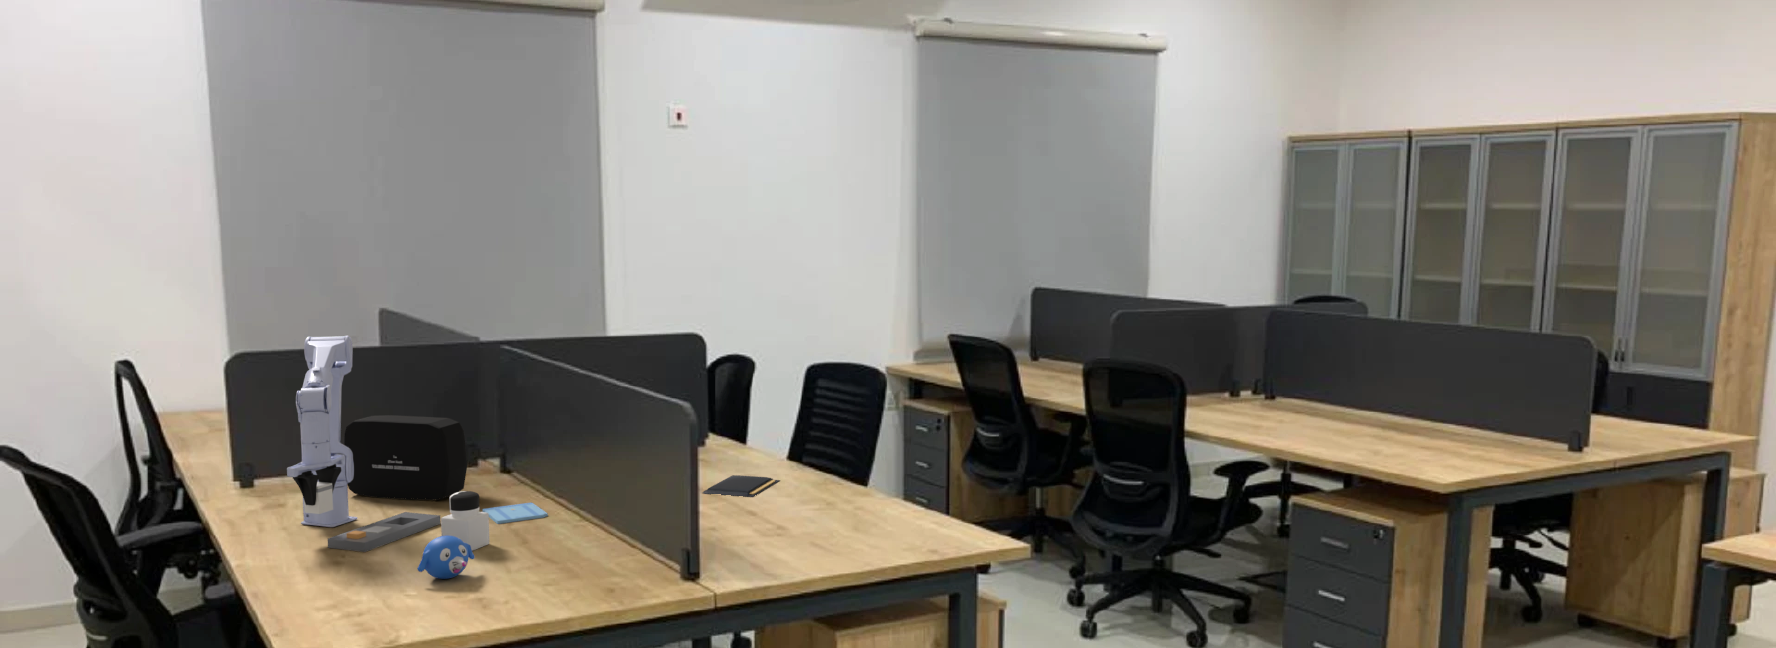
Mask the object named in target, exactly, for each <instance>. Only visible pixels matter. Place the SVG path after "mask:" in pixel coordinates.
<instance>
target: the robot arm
mask: <svg viewBox="0 0 1776 648" xmlns="http://www.w3.org/2000/svg"><path fill="white" fill-rule="evenodd" d="M303 347H304V348H303V349H304V350H303V351H304V358H305V359H304V360H305V361H306V365H307V368H308V370H307V371H306V373H305V374H304V375H305V376H304V379H303V384H302V387H301V388H300V390H297V391H296V395H295V406H296V412H297V419H298V423H299V424H300V425H299V426H300V444H301V461H300V462H298V463H297V464H294V465H292V466H288V467H287V468H286V474H287V475H286V476H287V477H289V478H292V479H293V481H295V483H296V485H297V487H298V489H300V490H299V491H300V493H301V495H302V511H303V513H302V514H303V521H301V522H300V524H301V525H308V526H318V527H319V526H320V527H327V528H334V527H338V526H341V525H343V524H347V523H350V522H352V521H355V520H358V517H357V516H350V515H349V511H350V510H349V494H348V493H349V492H348V491H349V490H348V489H349V487H348V482H351V481H352V480H353V477H354V462H353V453H352V451H351V449H350V448H348V447H347V446H345V445H344V444H343V443H342V442H341V434H342V433H341V432H342V431H341V430H342V428H341V427H342V426H341V425H342V424H341V423H342V385H343V381H344V376H346V375H348V374H349V373H351V372H352V368H353V356H354V354H353V353H354V352H353V350H354V349H353V347H354V346H353V340H352V337H351V336H350V335H349V334H348V335H344V336H343V335H342V336H341V335H340V336H339V335H337V336H332V335H331V336H311V335H310V336H307V337H306V338H305V339H304V345H303ZM317 482H326V483H332V486H333V488H332V495H333V510H331V511H327V512H324V513H321V514H314V513H305V510H304V501H305V504H306V505H311V506H313V505H315V503H316V487H317Z"/></svg>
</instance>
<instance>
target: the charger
mask: <svg viewBox="0 0 1776 648" xmlns="http://www.w3.org/2000/svg"><path fill="white" fill-rule="evenodd" d="M332 488H333V486H332V483H326V482H317V487H316V503H315V505H313V506H311V505H306V504H305V501H304V510H305V513H314V514H321V513H324V512H327V511H331V510H333V495H332Z"/></svg>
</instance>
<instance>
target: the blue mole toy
mask: <svg viewBox="0 0 1776 648" xmlns="http://www.w3.org/2000/svg"><path fill="white" fill-rule="evenodd" d="M475 558H476V557H475V554H474V553H473V551H472V550H471V546H470V545H469V544H467V543H464V542H463V541H462V540H461V539H459V538H457V537H455V536H442V535H441V536H438V537H435V538H434V539H432V540H430V541H429V542H428V543H427V544H426V545H425V547H424V549H423V553H422V557H421V560H420V562H419V565H418V566H417V571H418V572H420V573H422V572H424V571H426V572H427V574H428V575H430V576H431V577H433V578H435V579H438V580H439V579H440V580H447V579H448V580H449V579H452V578H455V577H457V576H458V575H460V574H461V573H462V572H463V571H465V569H466V567H467V565H468V562H469V559H470V560H474V559H475Z"/></svg>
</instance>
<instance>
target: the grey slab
mask: <svg viewBox="0 0 1776 648" xmlns="http://www.w3.org/2000/svg"><path fill="white" fill-rule="evenodd" d="M438 525H441V515H439V514H429V513H428V514H427V513H419V512H410V511H405V512H401V513H399V514H395V515H392V516H390V517H386V518H384V519H381V520H379V521H375V522H372V523H370V524H366V525H363V526H361V527H358V528H354V529H352V530H349V531H346V532H343V533H340V534H337V535H334V536H331V537H328V538H327V549H328V548H329V549H337V550H346V551H356V552H363V553H366V552H369V551H372V550H374V549H377V548H379V547H382V546H385V545H387V544H390V543H392V542H395V541H398V540H401V539H404V538H406V537H408V536H411V535H414V534H416V533H420V532H423V531H425V530H428V529H430V528H433V527H436V526H438Z"/></svg>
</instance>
